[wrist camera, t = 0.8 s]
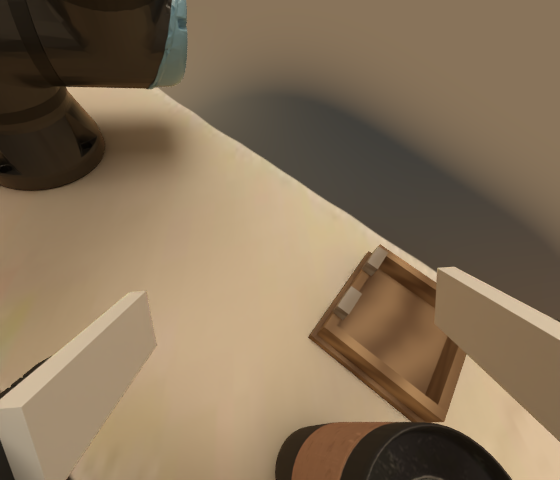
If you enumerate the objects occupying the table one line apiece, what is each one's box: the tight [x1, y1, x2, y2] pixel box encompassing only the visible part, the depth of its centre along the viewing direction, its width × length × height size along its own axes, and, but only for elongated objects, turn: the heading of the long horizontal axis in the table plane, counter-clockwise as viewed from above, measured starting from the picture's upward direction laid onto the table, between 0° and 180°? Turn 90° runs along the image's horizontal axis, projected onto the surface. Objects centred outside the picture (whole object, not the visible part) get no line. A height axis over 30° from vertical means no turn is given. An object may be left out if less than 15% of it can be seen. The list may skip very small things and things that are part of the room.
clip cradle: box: [309, 245, 466, 423], centre depth 34 cm, size 15×15×6 cm
